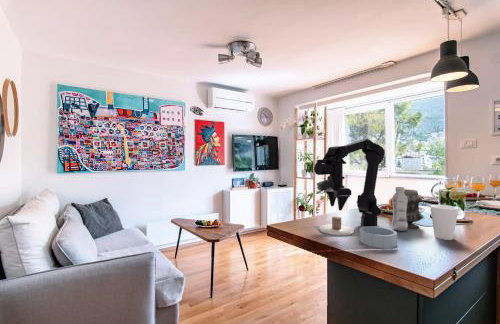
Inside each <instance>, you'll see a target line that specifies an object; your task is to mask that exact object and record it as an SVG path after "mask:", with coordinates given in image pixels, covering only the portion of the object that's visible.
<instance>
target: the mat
mask: <svg viewBox="0 0 500 324" xmlns="http://www.w3.org/2000/svg"><path fill="white" fill-rule="evenodd" d="M320 226H321V225H319V226H318V225H315V226H313V227H314V228H315V229H316V230H317V231H319V232H320V234H321V235H323V236H324V237H325V238H330V237H331V238H332V237H334V238H335V237H338V238H339V237H342V236H336V235H329V234H325V233H323V232H321V231H320ZM347 237H360V232H359V233H358V232H357V231H356V230H354V234H352V235H348V236H347Z"/></svg>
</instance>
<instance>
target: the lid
mask: <svg viewBox="0 0 500 324" xmlns="http://www.w3.org/2000/svg"><path fill="white" fill-rule="evenodd" d="M319 226H320V231H321V232H323V233H325V234H329V235H336V236H341V237H349V236H348V235H352V234H354V231H355V228H353V227H351V226H347V225H344V224H342V217H340V216H332V217H331V224H330V223H329V224H327V223H326V224H322V225H319ZM320 231H319V232H320ZM321 232H320V233H321Z"/></svg>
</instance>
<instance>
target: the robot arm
mask: <svg viewBox="0 0 500 324" xmlns="http://www.w3.org/2000/svg"><path fill="white" fill-rule="evenodd" d="M360 150H361V152H362V153H363V154H365V155H364V158H365V161H366V163H367V166H366V172H365V179H364V185H363V191H362V193H361V194H358V195H357V198H356V199H357V200H356V207H357V209H358V212H359V213H361V215H360V225H361V226H362V227H365V226H375V227H380V226H379V225H378V217H379V216H380V215H381V213H382V209H380V208H379V206H378V204H377V203H378V200H377V197H376V195H375V190H376V186H377V185H376V184H377V179H378V172H379V165H380V164H381V163H382V162H383V160H384V159H385V155H386V152H385V149H384V147H382V146H381V145H379V144H377V143H376V142H373V141H372V140H371V139H368V138H364V139H359V140H355V141H353V142H350V143H347V144H345V145H344V144H343V145H338V146H336V145H335V146H330V147H328V148H327V151H326V153H325V155H324V157H323V158H322V159H317V160H316V163H315V164H314V166H313V170H314V174H315V175H318V176H324V175H325V176H326V175H328V176H327V179H325V180H322V181H319V182H316V186H317V189H318V191H321V192H322V191H323V192H324V193H325V194H326V195H327V197H328V200H329V204H330V206H331V207H334V206H335V203H336V200H337V207H338V211H341V212H342V211H343V208H344V206H345V205H346V203H347V201H348V199H349V197H351V196H352V190H351V188H348V187H345V185H343V181H344V180H345V176H343V175H344V173H343V169H344V168H343V167H344V166H343V165H345V164H347V162H346V160H344V159H345V158H347V157H348V155H349V154H351V153H354V152H357V151H360Z"/></svg>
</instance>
